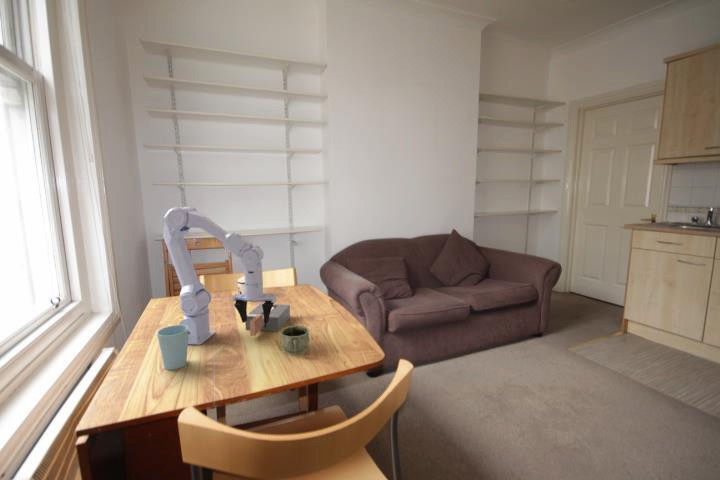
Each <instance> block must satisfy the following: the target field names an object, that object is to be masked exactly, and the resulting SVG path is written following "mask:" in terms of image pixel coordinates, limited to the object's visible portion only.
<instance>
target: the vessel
mask: <svg viewBox="0 0 720 480" xmlns="http://www.w3.org/2000/svg"><path fill="white" fill-rule="evenodd" d="M309 331H310V330H309V328H308V327H306V326H303V325H289V326H287V327H284V328H281V329H280V334H281V335H280V337H281V340H280V344H281V347H282V348H283V349H282V351H283V353H284V354H285V355H290V356H298V355H301V354H304V353H306V352H307V351H308V346H309V343H310V336H309V335H310V333H309Z"/></svg>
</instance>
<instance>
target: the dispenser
mask: <svg viewBox="0 0 720 480" xmlns="http://www.w3.org/2000/svg"><path fill="white" fill-rule="evenodd" d="M262 304H263V303H259V304H258V305H257V306H256V307H255V308H253V309H252V310H251V311H249V313H247V321H246V322H244V324H245V330H246V331H250V321H251V320H252V319H253V318H254V317H255V316H256V315H257V314H262V316H263V317H264V312H263V307H262ZM272 307H275V309H274V310H273V311H272V312H271V313H270V315H269V321H268V322H267V323H266V325H265V326H264V327H263V328H262V329H261V330H260V331H264V332H266V331H267V332H279V331H281V330H282V327H284V325H285V324H286V323H287V321H288V320H289V319H290V317H291V305H290V304H275V303H274V304H273V306H272Z"/></svg>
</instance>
